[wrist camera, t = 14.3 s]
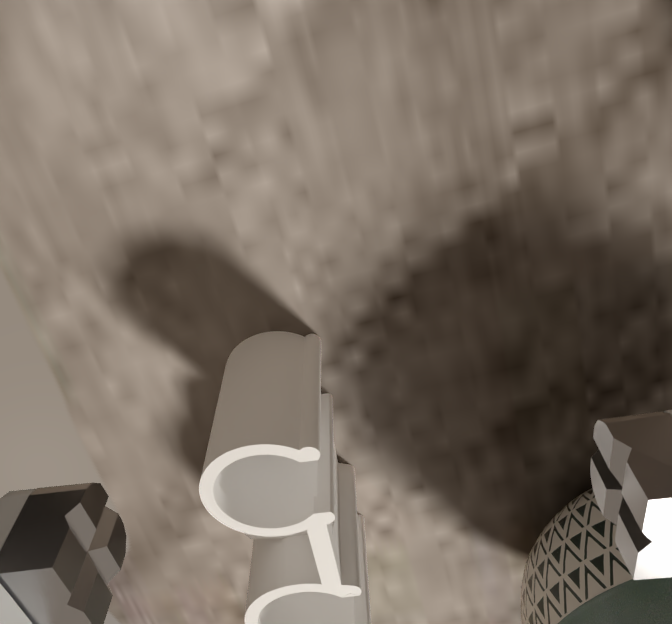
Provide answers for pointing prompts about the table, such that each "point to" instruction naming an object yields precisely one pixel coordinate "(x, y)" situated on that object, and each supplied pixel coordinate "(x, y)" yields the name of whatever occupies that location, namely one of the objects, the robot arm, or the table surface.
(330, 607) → the c-shaped pipe clip
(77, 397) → the table surface
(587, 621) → the planter
